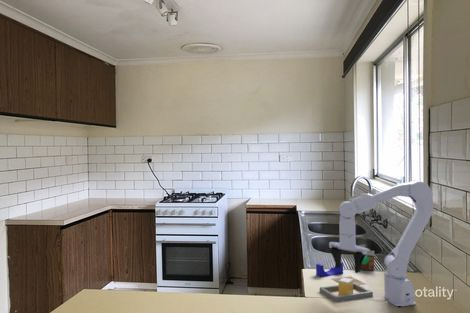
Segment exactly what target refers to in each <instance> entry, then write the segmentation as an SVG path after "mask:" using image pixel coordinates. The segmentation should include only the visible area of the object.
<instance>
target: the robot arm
mask: <svg viewBox="0 0 470 313" xmlns="http://www.w3.org/2000/svg"><path fill="white" fill-rule="evenodd" d="M433 195H434V193H433V191H432V189H431V187H430V186H429V184H427V183H426V182H424V181H418V180H411V181H409V182H402V183H400V184H396V185H395V186H392V187H389V188H387V189H384V190H382V191H379V192H377V193H375V194H371V193H365V192H363V193H361V194H360V196H357V197H354V198H349V199H348V200H349V201H342V202H341V203H340V205H339V207H338V210H339V224H338V225H339V227H338V228H339V242H336V241H330V242H329V243H328V248H330V249H329V251H330V254H331V256H332V257H333V260H334V263H335V264H336V268H340V267H341V262H342V252H343V251H347V252H353V254H352V255H353V260H354V273H356V274H359V273H360V271H361V268H360V267H361V264H362V261H363V259H364V257H365V256H366V254H367V248H368V247H366V248H363V247H360V246H359V245H357V244H356V221H355V216H356V215H357V214H361V213H363V212H366V211H370V210H373V209H375V208H376V206H377V204H378V203H381V202H384V201H388V200H390V199H393V198H396V197H405V198H406V197H407V198H410V199H411V201H412V202H413V204H414V207H415V210H414V213H413V215H412V216H411V218H410V220H409V221H408V224H407V225H406V228H405V229H404V231H403V233H402V235H401V237H400V239H399V241H398V243H396V246H395V247H394V248H393V249H392V250H391V252H389V254H387V255H385V257H384V259H383V263H384V266H385V267H386V270H385V271H384V275H383V276H384V280H383V281H384V297H385V302H388V303H390V304H392V305H394V306H395V307H398V306H402V307H407V306H413V305H417V303H416V302H415V286H414V283H413V282H412V281H411V280H409V279H408V278H407V272H408V265H409V263H410V258H411V257H410V255H411V253H412V252H413V250H414V248H415V246H416V244H417V243H418V241H419V239H420V237H421V235H422V233H423V231H424V229H425V228H426V226H427V224H428V223H429V220H430V219H431V217H432V215H433V212H434V211H435V209H434V201H433Z"/></svg>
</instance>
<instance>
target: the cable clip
mask: <svg viewBox="0 0 470 313" xmlns="http://www.w3.org/2000/svg"><path fill="white" fill-rule="evenodd" d="M315 265H316V266H315V272H316V273H315V276H317V277H320V278H322V277H325V278H326V277H330V276H337V275H340V274H341V275H343V274H344V262H342V261H341V267H340V268H336V264H335V265H334V267H332V266H331V268H329V270H327V271H326V270H325V269H324V264H321V263H316V264H315Z"/></svg>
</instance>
